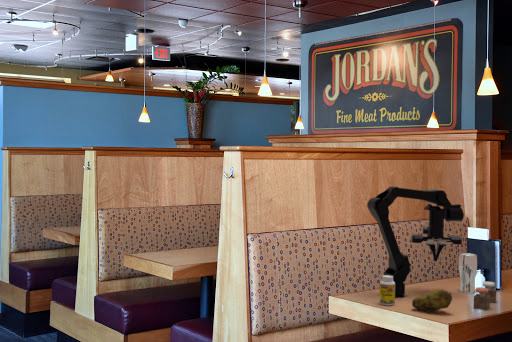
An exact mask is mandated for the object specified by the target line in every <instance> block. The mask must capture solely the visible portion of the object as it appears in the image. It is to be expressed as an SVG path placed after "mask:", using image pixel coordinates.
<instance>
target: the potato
mask: <svg viewBox="0 0 512 342" xmlns="http://www.w3.org/2000/svg"><path fill="white" fill-rule="evenodd" d="M452 300H453V295H452V294H451V293H450V292H448V291H447V290H445V289H436V290H432V291H430V292H429V293H426V294H423V295H419V296H416V297H414V298H413V299H412V302H411V305H412V307H413V308H415V309H416V310H417V311H425V312H427V311H428V312H436V311H439V310H441V309H447V308H449V306H450V304H451V302H452Z"/></svg>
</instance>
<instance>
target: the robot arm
mask: <svg viewBox="0 0 512 342" xmlns="http://www.w3.org/2000/svg"><path fill="white" fill-rule="evenodd" d="M397 198H405V199H413V200H420V201H423V202H426V203H428V204H427V205H425V206H424V207H423V210H425V211H428V225H423V226H422V234H419V233H418V234H417V233H414V234H413V233H412V234H411V235H410V242H411V243H414V244H421V243H422V242H425V245H426V246H429V247H428V248H429V249H430V252H431V254H432V258H433V261H434V262H438V259H439V257H440V254H441V252H442V250H443V249H444V247H447V244H446V243H452V244H453V245H462V244H463V243H462V242H463V240H462V237H460V236H459V235H449V236H447V237H446V236H445V235H444V232H445V231H444V230H445V228H444V227H445V221H446V222H462V221H463V219H464V218H465V217H464V216H465V213H464V210H463V209H462V205H461V204H460V203H457V204H456V203H455V204H452V203H451V202H450V200H449V198H448V196H447V193H446V192H445V190H443V189H434V188H433V189H424V190H423V189H422V190H420V189H412V188H406V187H405V188H404V187H398V186H388V188H387V189H385V190H384V191H382V192H381V193H379V194H377V195H376V196H375V197H372V198H369V200H368V202H367V203H366V206H367V209H368V211H369V213H370V214H371V216H372V217H373V219H374V220H375V221H376V223H377V225H378V226H377V227H378V229H379V231H380V234H381V237H382V240H383V244H384V245H385V248H386V251H387V254H388V259H387V260H388V261H387V262H388V267H387V268H386V269H385V270H384V271H383V275H389V276H393V281H394V282H395V298H404V296H405V293H406V292H405V291H406V285H405V282H406V280H407V278H408V276H409V274H410V272H411V266H412V264H411V263H410V259H409V256H408V255H406V254H403V253H401V250H400V247H399V244H398V241H397V238H396V236H395V233H394V229H393V227H392V225H391V221H390V219H389V217H390V209H389V207H390V206H391V205H392V204H393V203H394V201H396V199H397ZM441 207H442V208H441ZM423 235H427V236H423ZM435 242H436V244H435Z"/></svg>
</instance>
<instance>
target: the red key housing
mask: <svg viewBox="0 0 512 342" xmlns="http://www.w3.org/2000/svg"><path fill="white" fill-rule="evenodd" d="M490 308H491V302H490V295H485V297H481V296H479V293H475V295H473V309H476V310H483V311H488V310H489V309H490Z"/></svg>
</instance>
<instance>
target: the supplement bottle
mask: <svg viewBox="0 0 512 342" xmlns="http://www.w3.org/2000/svg"><path fill="white" fill-rule="evenodd" d="M378 291H379V295H378V296H379V299H378V300H379V301H378V302H379V304H380V305H382V306H393V305H394V304H395V302H396V301H395V299H396V297H395V282H394V281H393V276H389V275H384V274H383V275H381V280H380V281H379V290H378Z"/></svg>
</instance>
